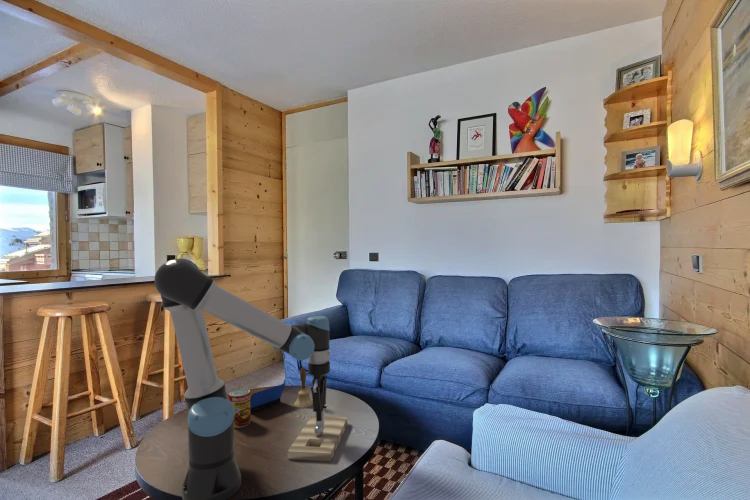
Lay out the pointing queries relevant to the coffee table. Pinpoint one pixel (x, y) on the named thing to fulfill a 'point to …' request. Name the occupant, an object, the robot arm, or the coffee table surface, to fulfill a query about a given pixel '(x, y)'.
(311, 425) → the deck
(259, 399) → the handheld game console
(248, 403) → the canned food
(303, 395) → the hand bell
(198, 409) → the robot arm
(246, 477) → the coffee table surface
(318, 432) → the ball
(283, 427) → the coffee table surface
